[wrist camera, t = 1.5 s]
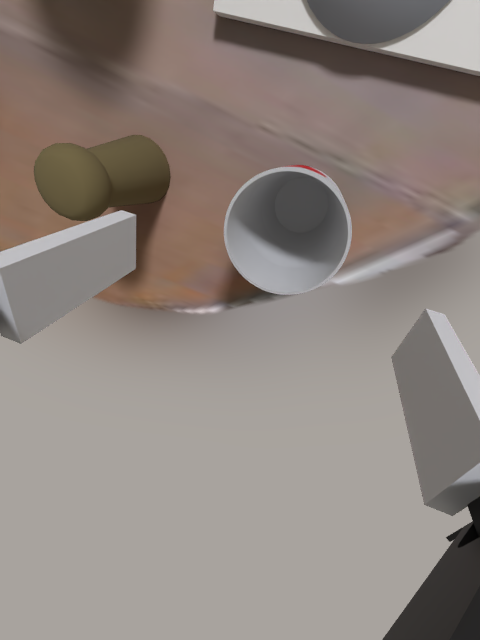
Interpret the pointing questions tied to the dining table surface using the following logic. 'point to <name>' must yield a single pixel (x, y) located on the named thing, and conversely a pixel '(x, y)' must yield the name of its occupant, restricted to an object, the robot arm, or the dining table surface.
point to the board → (376, 26)
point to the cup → (288, 230)
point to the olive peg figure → (101, 176)
